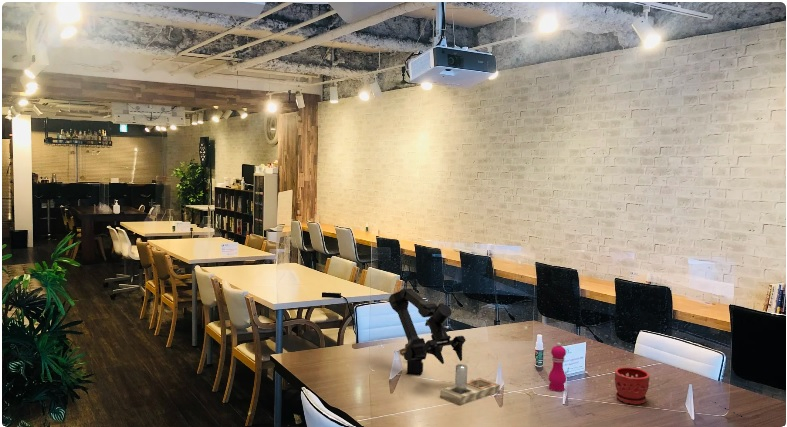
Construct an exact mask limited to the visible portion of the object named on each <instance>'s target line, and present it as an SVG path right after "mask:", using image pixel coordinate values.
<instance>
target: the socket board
mask: <svg viewBox="0 0 787 427" xmlns="http://www.w3.org/2000/svg"><path fill="white" fill-rule="evenodd" d="M500 390H501V384H499V383H495V382H492V381H490V380H487V379H484V378H482V377H478V378H474V379H472V380H467V390H466V393H464V394H459V393H456V392H455V384H454V385H450V386H448V387H445V388H442V389H440V390H439V393H440V394H439V397H440V398H442V399H444V400H446V401H449V402H452V403H454V404H456V405H458V406H462V405H465V404H467V403H470V402H474V401H477V400H480V399H482V398H486V397H489V396H492V395H495V394H497V393H500V392H501V391H500Z"/></svg>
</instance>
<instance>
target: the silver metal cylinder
mask: <svg viewBox="0 0 787 427" xmlns="http://www.w3.org/2000/svg"><path fill="white" fill-rule="evenodd" d="M467 382H468V365H466V364H462V363H461V364H460V363H459V364H456V365H455V382H454V383H455V384H454V385H455V392H456V393H459V394H464V393H466V390H467Z"/></svg>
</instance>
